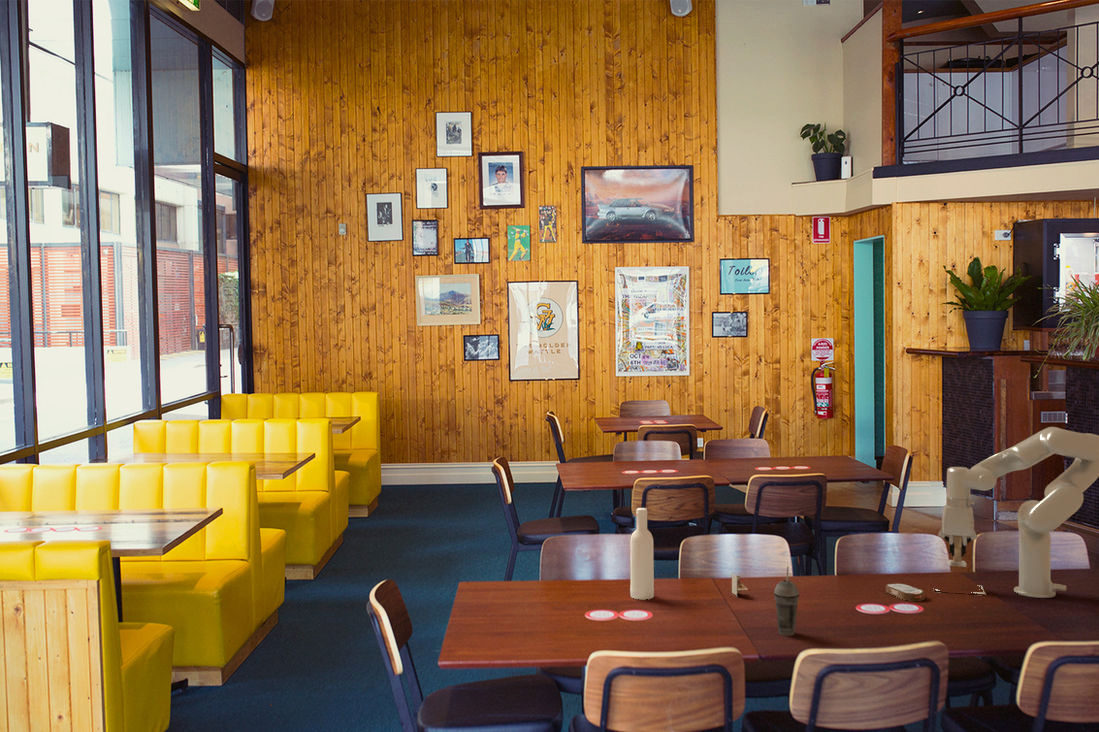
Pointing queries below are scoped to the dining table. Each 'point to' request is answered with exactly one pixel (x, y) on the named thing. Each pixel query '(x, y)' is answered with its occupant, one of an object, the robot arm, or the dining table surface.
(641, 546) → the bottle
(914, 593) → the tin
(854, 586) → the dining table surface
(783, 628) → the beverage cup
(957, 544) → the beige post on base
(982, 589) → the tool mat
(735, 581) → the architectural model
